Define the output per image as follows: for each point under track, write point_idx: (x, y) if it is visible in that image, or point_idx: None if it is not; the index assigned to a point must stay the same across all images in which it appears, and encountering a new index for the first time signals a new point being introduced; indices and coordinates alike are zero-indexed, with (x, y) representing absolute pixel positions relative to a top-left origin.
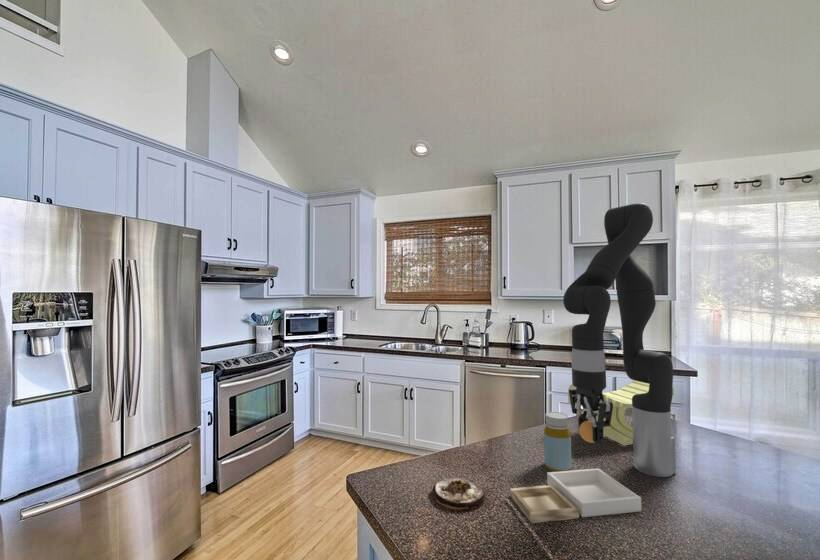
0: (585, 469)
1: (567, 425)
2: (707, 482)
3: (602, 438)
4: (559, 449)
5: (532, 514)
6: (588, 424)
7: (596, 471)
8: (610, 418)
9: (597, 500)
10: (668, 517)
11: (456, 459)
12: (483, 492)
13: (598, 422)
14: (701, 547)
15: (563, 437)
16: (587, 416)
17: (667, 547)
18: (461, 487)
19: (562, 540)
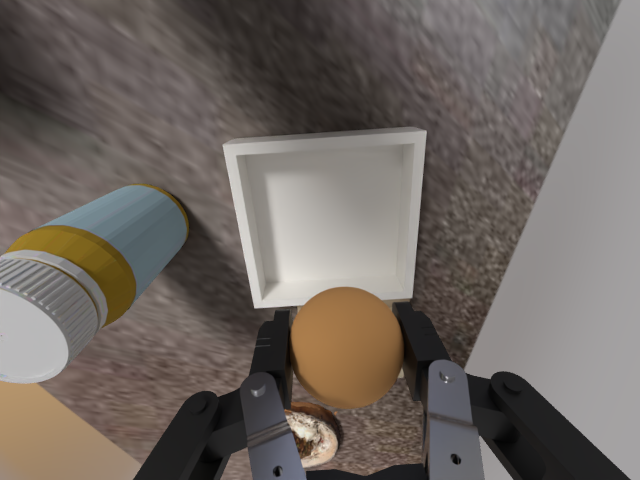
0: (233, 196)
1: (69, 278)
2: None
3: (430, 325)
4: (157, 266)
5: (402, 376)
6: (374, 401)
7: (237, 159)
8: (577, 436)
9: (408, 259)
10: (445, 56)
11: (134, 415)
12: (300, 412)
13: (498, 444)
14: (566, 77)
15: (131, 277)
16: (275, 383)
17: (532, 163)
18: (304, 452)
19: (446, 334)
